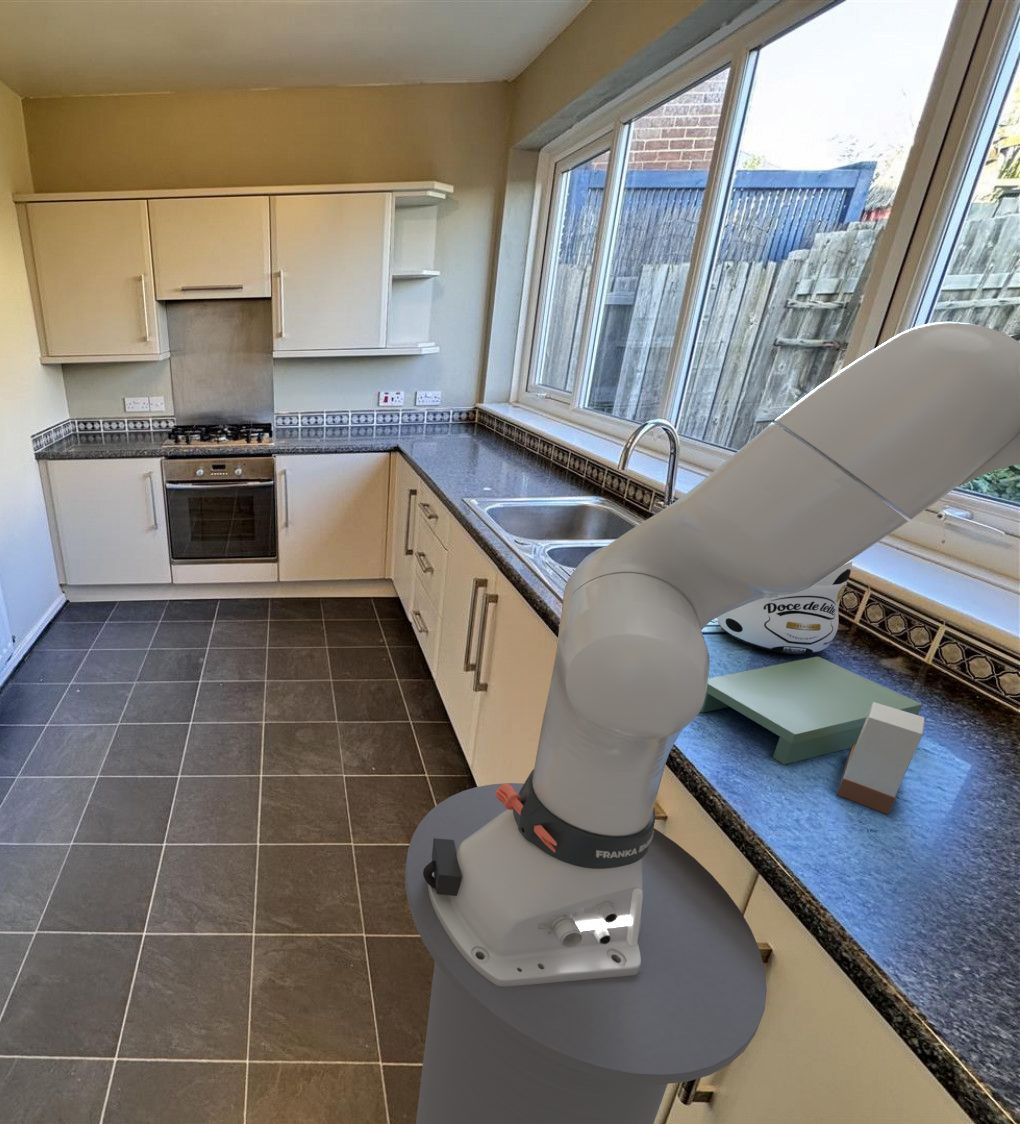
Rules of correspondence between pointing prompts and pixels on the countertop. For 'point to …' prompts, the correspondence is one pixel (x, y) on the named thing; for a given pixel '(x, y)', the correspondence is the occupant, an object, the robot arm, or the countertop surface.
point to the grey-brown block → (881, 757)
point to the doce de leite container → (791, 617)
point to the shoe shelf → (804, 704)
